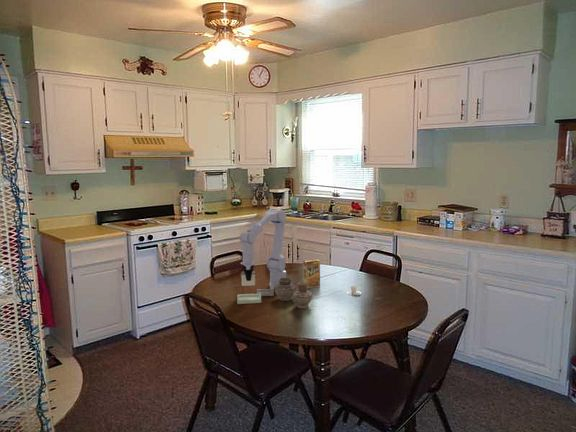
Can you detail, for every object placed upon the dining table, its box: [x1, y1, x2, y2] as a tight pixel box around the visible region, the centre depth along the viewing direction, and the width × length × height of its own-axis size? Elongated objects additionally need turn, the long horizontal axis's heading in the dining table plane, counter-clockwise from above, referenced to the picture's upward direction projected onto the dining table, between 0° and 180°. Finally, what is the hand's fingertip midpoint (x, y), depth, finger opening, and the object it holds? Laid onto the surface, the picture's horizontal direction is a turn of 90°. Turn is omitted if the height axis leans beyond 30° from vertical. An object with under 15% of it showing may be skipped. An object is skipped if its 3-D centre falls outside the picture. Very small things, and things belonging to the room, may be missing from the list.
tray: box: [236, 293, 262, 305], centre depth 222 cm, size 12×9×2 cm
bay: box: [256, 285, 275, 297], centre depth 231 cm, size 9×7×4 cm
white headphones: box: [346, 285, 362, 296], centre depth 231 cm, size 9×8×4 cm
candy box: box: [302, 258, 321, 289], centre depth 242 cm, size 9×4×15 cm, turn 113°
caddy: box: [239, 270, 256, 287], centre depth 226 cm, size 8×4×7 cm, turn 94°
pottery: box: [274, 277, 313, 309], centre depth 217 cm, size 11×25×12 cm, turn 38°
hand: (248, 279), depth 226 cm, fingers closed on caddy, 4 cm apart
